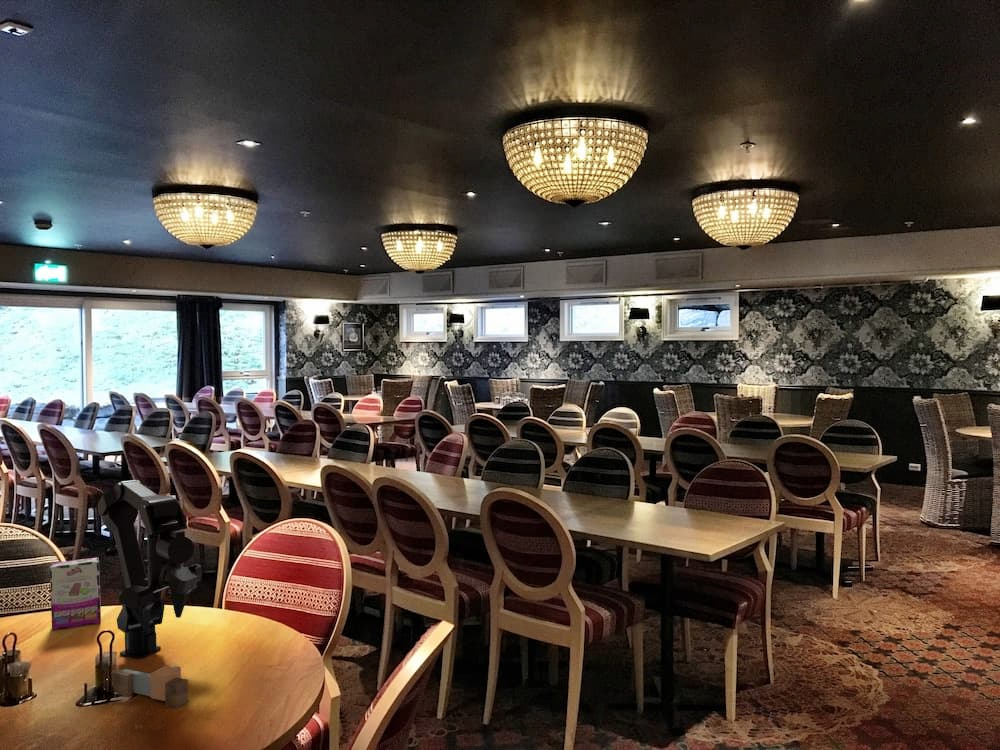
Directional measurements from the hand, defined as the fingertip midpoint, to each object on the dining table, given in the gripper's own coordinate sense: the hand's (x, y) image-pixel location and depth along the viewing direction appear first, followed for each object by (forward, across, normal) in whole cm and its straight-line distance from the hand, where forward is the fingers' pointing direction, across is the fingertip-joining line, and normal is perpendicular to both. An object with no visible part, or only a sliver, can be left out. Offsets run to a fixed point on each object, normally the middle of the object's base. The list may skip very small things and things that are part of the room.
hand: (162, 624), depth 172 cm
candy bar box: (+10, +13, +42) cm, 45 cm away
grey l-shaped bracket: (+10, -9, -5) cm, 14 cm away
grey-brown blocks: (+10, -12, -7) cm, 17 cm away
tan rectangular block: (+9, -11, -12) cm, 19 cm away
